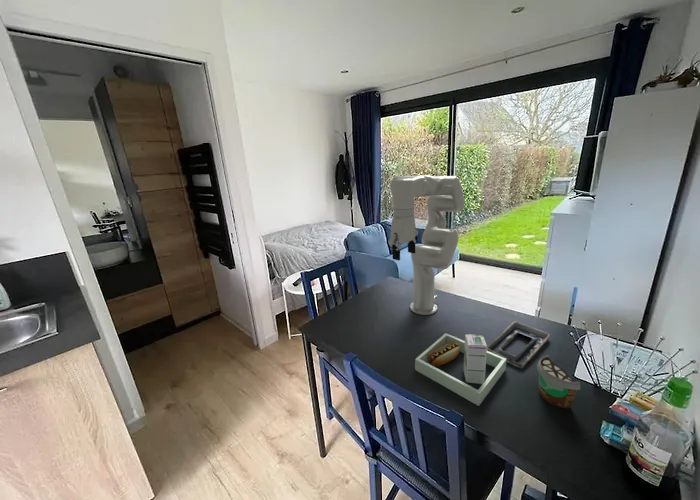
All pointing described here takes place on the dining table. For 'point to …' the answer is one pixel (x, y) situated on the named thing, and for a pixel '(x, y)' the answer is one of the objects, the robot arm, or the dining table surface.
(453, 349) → the hot dog
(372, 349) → the dining table surface
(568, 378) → the food container
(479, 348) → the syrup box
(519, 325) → the picture frame
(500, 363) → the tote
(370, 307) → the dining table surface
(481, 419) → the dining table surface
